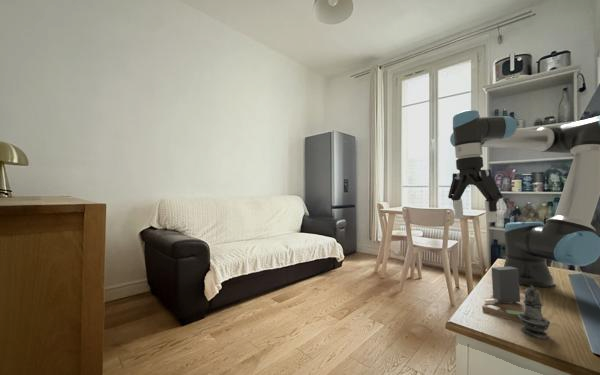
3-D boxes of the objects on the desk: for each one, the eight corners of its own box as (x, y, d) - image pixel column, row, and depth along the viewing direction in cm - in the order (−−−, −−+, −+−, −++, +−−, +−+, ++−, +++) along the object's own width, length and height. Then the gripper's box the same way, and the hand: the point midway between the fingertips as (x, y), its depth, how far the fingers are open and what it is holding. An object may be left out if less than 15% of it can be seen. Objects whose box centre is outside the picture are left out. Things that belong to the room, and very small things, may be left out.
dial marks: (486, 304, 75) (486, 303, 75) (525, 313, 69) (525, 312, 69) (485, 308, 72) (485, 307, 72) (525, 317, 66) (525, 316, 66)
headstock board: (498, 292, 86) (498, 288, 86) (538, 301, 79) (537, 296, 79) (482, 311, 74) (482, 306, 74) (527, 324, 66) (527, 318, 66)
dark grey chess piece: (553, 334, 61) (550, 285, 62) (548, 342, 58) (545, 291, 58) (522, 324, 66) (520, 279, 66) (515, 331, 63) (513, 284, 63)
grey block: (511, 299, 77) (510, 266, 78) (520, 302, 74) (518, 268, 75) (481, 301, 76) (480, 268, 77) (489, 305, 74) (487, 270, 74)
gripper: (434, 162, 96) (439, 217, 95) (490, 151, 71) (496, 225, 70) (453, 161, 96) (457, 216, 96) (513, 150, 71) (520, 223, 71)
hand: (474, 220), depth 83 cm, fingers open, 13 cm apart
